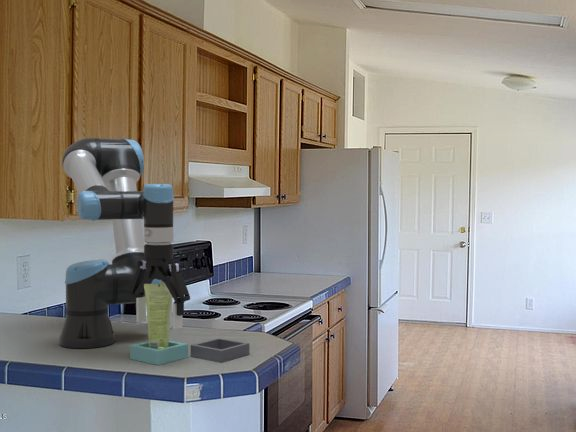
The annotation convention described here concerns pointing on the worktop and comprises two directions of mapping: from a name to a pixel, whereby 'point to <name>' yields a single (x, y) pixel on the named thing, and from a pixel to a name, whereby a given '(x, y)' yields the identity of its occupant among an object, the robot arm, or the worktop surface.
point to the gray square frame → (220, 349)
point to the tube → (158, 314)
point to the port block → (158, 353)
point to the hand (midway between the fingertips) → (159, 324)
